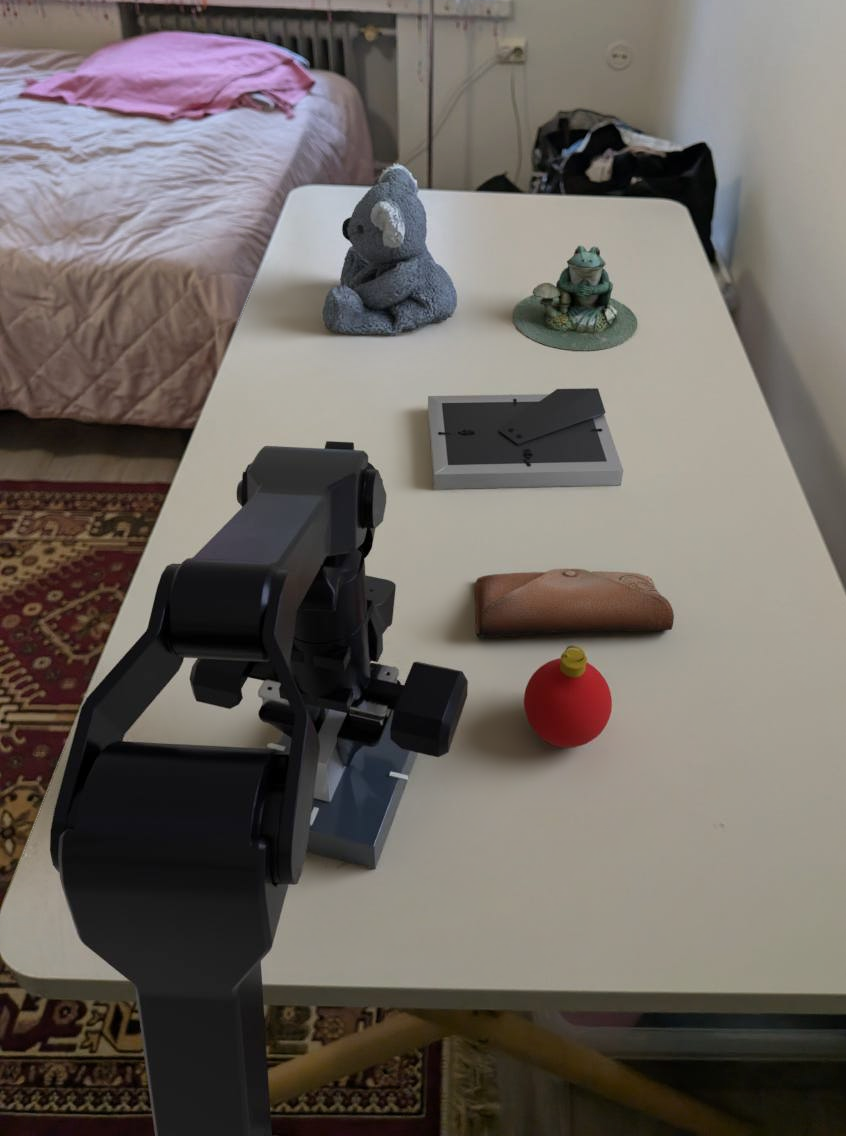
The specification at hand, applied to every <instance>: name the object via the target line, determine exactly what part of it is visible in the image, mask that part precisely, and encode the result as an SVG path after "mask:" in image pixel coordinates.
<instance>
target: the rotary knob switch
mask: <svg viewBox="0 0 846 1136" xmlns="http://www.w3.org/2000/svg"><path fill="white" fill-rule="evenodd" d="M328 711H329V709H326V708H325V714H326V716H327V714H328ZM393 713H394V710H393V711H392V714H391V716H390V719H389V721H388V724H387V726H386V729H385V731H384V734H383V736H382V738H381V741H380V743H379V744H378V745H377V746H374V747H368V746H363V747H362V748H360V749H359V750H358V751H357V752H356V753H355V755H354V757H353V759H352V761H351V764H350V766H349V767H345V769H344V771H343V774H342V776H341V778H340V781H339V783H338V785H337V788H336V790H335V792H334V795H333V797H332V799H331V801H330V802H328V801H323V800H319V799H315V798H313V805H312V813H311V820H310V828H309V836H308V843H307V849H306V853H308V854H312V855H316V856H321V857H325V858H328V859H332V860H336V861H341V862H345V863H348V864H352V865H356V866H360V867H364V868H368V869H370V870H371V869H372V870H376V869H377V867H378V863H379V861H380V858H381V855H382V852H383V851H384V848H385V844H386V842H387V839H388V836H389V834H390V831H391V827H392V825H393V822H394V819H395V817H396V814H397V811H398V808H399V806H400V803H401V800H402V797H403V794H404V792H405V790H406V786H407V784H408V780H409V777H410V775H411V773H412V769H413V767H414V764H415V761H416V759H417V755H418V753H417V752H413V751H409V750H404V749H401V748H400V747H399V746H398V745H397V744H395V743H394V742H393V741H392V740H391V739H390V727H391V722H392V718H393ZM291 740H292V738H290V737H289V736H288V735H286V734H285V733H283V732H282V735H281V737H280V739H279V741H278V743H277V744H276V743H271V742H268V744H267V747H266V749H276V750H278V751H279V752H280V753H281V754H288V755H289V754H290V747H291Z"/></svg>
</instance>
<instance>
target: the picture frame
mask: <svg viewBox="0 0 846 1136" xmlns="http://www.w3.org/2000/svg"><path fill="white" fill-rule="evenodd" d="M427 415H428V427H429V429H428V430H429V440H430V452H431V453H430V455H431V464H432V465H431V466H432V479H433V489H434V490H468V489H470V490H471V489H473V490H474V489H514V488H515V489H517V488H520V489H521V488H555V487H561V488H563V487H597V486H598V487H600V486H601V487H602V486H622V482H623V481H622V480H623V476H624V468H623V466H622V461H621V459H620V456H619V453H618V450H617V448H616V444H615V442H614V439H613V436H612V433H611V430H610V426H609V424H608V420H607V418H606V409H605V406H604V403H603V399H602V396H601V393H600V391H599V388H598V387H596V388H594V387H593V388H585V387H584V388H556V389H555V390H553V391H552V392H550V393H542V394H541V393H539V394H538V393H537V394H533V393H532V394H531V393H530V394H478V395H477V394H476V395H474V394H473V395H472V394H471V395H467V394H466V395H465V394H464V395H428V396H427Z"/></svg>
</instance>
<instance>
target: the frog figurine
mask: <svg viewBox="0 0 846 1136" xmlns="http://www.w3.org/2000/svg"><path fill="white" fill-rule="evenodd" d="M566 264H567V267H565V268H564V269H563V270H562V271H561V273H560V275H559V278H558V280H557V281H556V284H555V285H554V284H552V283H550V282H543V283H540V284H538V285H536V286H535V287H534V288H533V290H532V294H531V295H530V296H528V297H526V298H524V299H523V300H522V301H520V302H519V303H517V304H516V306H515V307H514V308H513V311H512V321H513V324H514V325H515V327H516V328H517V330H518V331H520V332H521V333H522V334H523V335H525V337H528V338H529V339H530V340H533V341H534V342H537V343H540V344H542V345H545V346H549V347H552V348H556V349H561V350H565V351H566V350H567V351H583V352H584V351H586V352H587V351H600V350H603V349H604V350H605V349H609V348H613V347H615V346H619V345H621V344H623V343H625V342H626V341H628V340H629V339H630V338H632V337H633V336H634V334H635V333H636V331H637V330H638V329H637V328H638V318H637V316H636V314H635V313H634V312H633V311H632V310H631V309H630V308H629V307H628V306H627V305H625V304H624V303H622V302H620V301H619V300H616V299H615V298H612V291H613V288H614V283H613V282H612V281H610V277H609V273H608V272H607V271H606V268H604V267H605V266H606V261H605V260H604V259H603V257H602V256H601V250H600V248H599V247H598V246H596V245H595V246H592V247H590V249H589V250H587V249H586V248H585V246H583V245H577V248H575V250H574V252H573V255H572V257H570V258H569V259H568V260H566Z"/></svg>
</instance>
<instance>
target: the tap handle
mask: <svg viewBox="0 0 846 1136" xmlns="http://www.w3.org/2000/svg"><path fill="white" fill-rule="evenodd" d="M346 714H347V713H344V712H339V711H335V710H330V709H329V711H328V714H327V716H326V718H325V720H324V722H323V724H322V726H321V728H320V731H319V733H318V737H319V743H320V751H319V759H318V767H317V774H316V782H315V790H314V797H313V798H315V799H319V800H323V801H328V802H330V801H331V799H332V797H333V795H334V792H335V790H336V788H337V785H338V783H339V781H340V778H341V776H342V774H343V771H344V769H345V767H346V766H344V765H343V763H342V761H341V758H340V752H339V747H338V741H337V734H338V732H339V730H340V728H341V725H342V723H343V721H344V719H345V717H346Z"/></svg>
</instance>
